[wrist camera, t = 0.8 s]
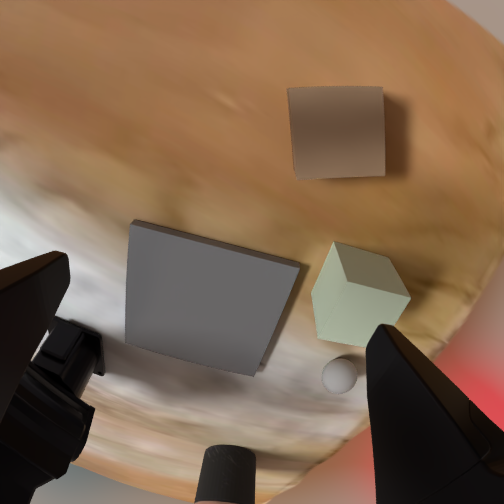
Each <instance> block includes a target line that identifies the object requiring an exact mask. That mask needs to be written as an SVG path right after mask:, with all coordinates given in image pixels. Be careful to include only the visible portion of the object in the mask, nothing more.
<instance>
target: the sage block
mask: <svg viewBox="0 0 504 504" xmlns="http://www.w3.org/2000/svg"><path fill="white" fill-rule="evenodd" d="M311 296H312V302H313V309H314V316H315V322H316V329H317V337H318V339H323V340H328V341H333V342H338V343H343V344H349V345H354V346H360V347H366V346H367V344H368V342H369V340H370V338H371V337H372V335H373V333H374V331H375V330H376V328H377V327H378V325H380V324H388V325H393V326H394V325H395V323H396V322H397V320H398V319H399V317H400V315H401V314H402V312H403V311H404V309H405V307H406V306H407V304H408V302H409V301H410V299H411V296H410V295H409V293H408V291H407V289H406V287H405V286H404V284H403V282H402V280H401V278H400V277H399V275H398V273H397V271H396V270H395V268H394V266H393V264H392V263H391V261H390V259H389V258H388V257H385V256H382V255H378V254H375V253H372V252H368V251H365V250H362V249H358V248H355V247H352V246H348V245H345V244H341V243H338V242H334V241H333V244H332V246H331V248H330V251H329V253H328V255H327V258H326V260H325V262H324V265H323V267H322V269H321V272H320V274H319V276H318V279H317V281H316V283H315V285H314V287H313V290H312V292H311Z"/></svg>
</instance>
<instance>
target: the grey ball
mask: <svg viewBox="0 0 504 504" xmlns="http://www.w3.org/2000/svg"><path fill="white" fill-rule="evenodd" d="M356 381H357V370H356V367H355V366H354V364H353V363H352V362H350V361H349V360H346V359H335V360H332V361H330V362H329V363H328V364H327V365H326V366H325V367H324V369H323V371H322V383H323V385H324V387H325V388H326V389H327V390H328V391H330V392H332V393H335V394H342V393H345V392H348V391H349V390H350V389H352V388H353V386H354V385H355V383H356Z"/></svg>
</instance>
